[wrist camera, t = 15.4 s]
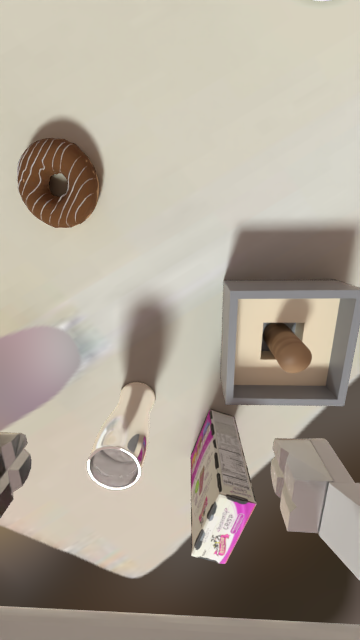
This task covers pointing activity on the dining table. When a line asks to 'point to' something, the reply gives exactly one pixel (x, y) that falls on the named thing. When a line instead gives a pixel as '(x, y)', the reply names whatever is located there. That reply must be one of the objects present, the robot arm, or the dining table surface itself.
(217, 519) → the candy bar box
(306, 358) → the peg
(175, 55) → the dining table surface
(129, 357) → the dining table surface
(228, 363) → the open-top box
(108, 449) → the beer glass
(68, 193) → the donut
